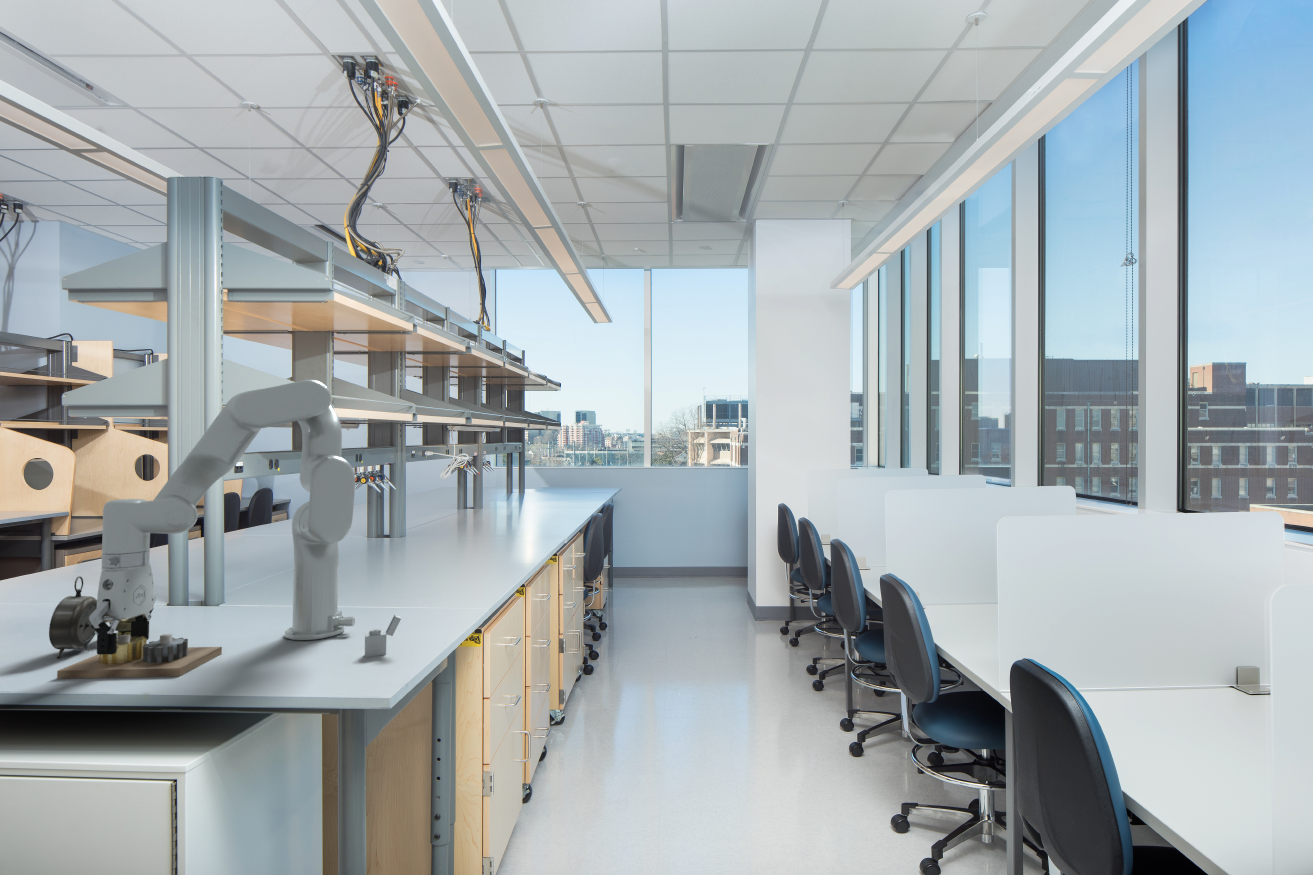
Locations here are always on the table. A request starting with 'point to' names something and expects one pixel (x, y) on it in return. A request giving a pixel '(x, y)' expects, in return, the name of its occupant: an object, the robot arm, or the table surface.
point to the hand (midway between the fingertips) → (123, 646)
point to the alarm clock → (72, 622)
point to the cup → (124, 627)
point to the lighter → (379, 639)
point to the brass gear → (126, 651)
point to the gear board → (146, 661)
